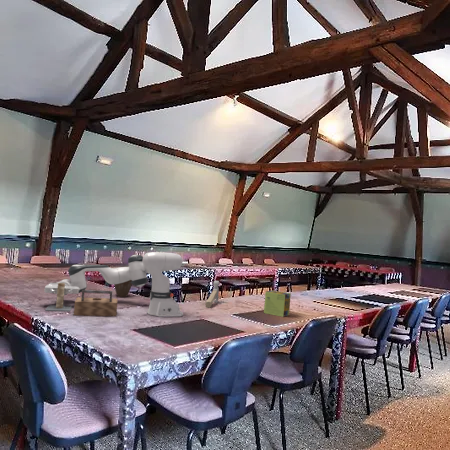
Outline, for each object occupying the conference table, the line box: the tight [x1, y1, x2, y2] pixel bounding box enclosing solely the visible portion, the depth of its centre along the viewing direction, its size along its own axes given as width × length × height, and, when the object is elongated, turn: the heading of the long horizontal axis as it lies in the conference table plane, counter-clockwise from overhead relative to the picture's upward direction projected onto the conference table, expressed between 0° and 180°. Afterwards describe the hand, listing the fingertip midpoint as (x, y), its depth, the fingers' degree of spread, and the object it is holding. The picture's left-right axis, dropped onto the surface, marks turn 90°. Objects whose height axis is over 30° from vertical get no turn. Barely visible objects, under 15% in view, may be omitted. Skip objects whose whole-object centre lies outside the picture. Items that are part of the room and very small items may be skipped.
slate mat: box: [45, 304, 73, 312], centre depth 259 cm, size 14×14×1 cm
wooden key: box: [55, 283, 65, 308], centre depth 259 cm, size 4×4×15 cm
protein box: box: [263, 290, 292, 318], centre depth 298 cm, size 10×15×16 cm
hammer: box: [204, 280, 220, 309], centre depth 315 cm, size 16×5×30 cm
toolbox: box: [73, 289, 118, 317], centre depth 254 cm, size 24×14×14 cm, turn 104°
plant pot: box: [113, 280, 133, 298], centre depth 318 cm, size 15×15×16 cm
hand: (60, 291), depth 258 cm, fingers open, 8 cm apart
